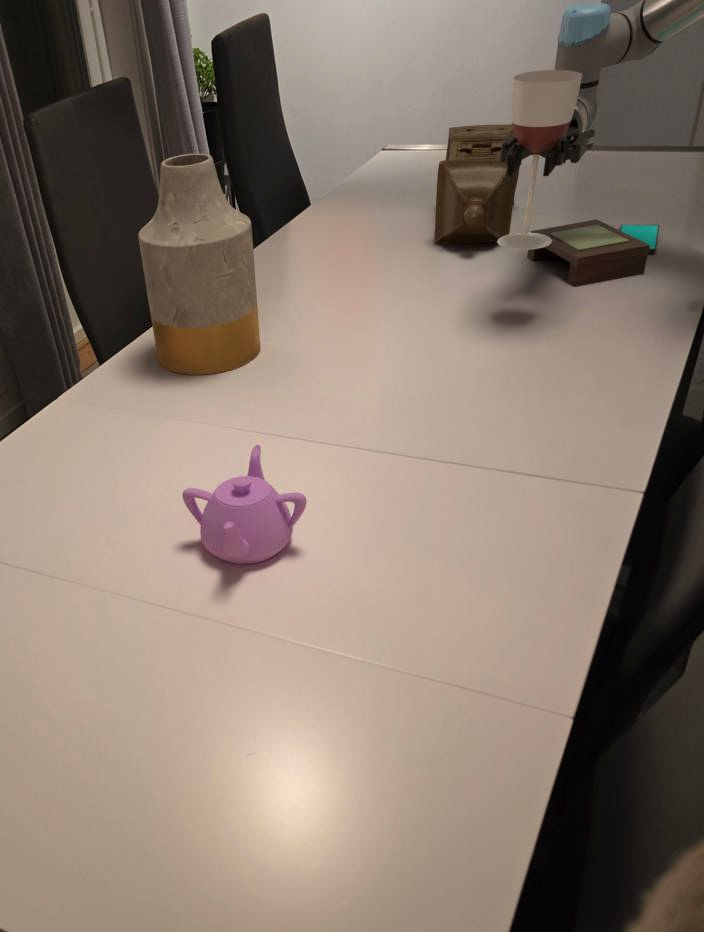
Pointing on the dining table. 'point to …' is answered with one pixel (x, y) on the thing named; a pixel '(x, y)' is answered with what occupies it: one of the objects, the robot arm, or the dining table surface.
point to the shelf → (593, 251)
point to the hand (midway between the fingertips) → (528, 165)
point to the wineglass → (540, 130)
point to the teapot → (245, 516)
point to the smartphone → (643, 234)
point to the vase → (199, 272)
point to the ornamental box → (474, 186)
